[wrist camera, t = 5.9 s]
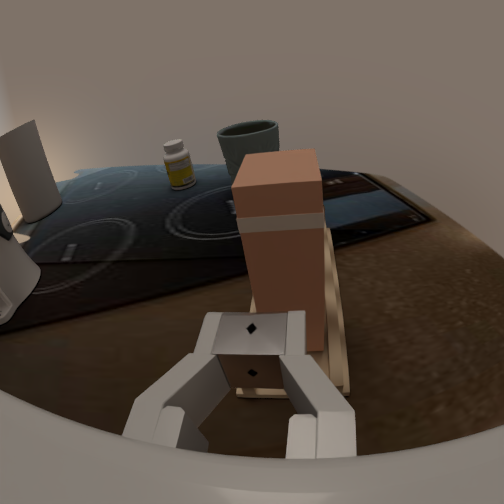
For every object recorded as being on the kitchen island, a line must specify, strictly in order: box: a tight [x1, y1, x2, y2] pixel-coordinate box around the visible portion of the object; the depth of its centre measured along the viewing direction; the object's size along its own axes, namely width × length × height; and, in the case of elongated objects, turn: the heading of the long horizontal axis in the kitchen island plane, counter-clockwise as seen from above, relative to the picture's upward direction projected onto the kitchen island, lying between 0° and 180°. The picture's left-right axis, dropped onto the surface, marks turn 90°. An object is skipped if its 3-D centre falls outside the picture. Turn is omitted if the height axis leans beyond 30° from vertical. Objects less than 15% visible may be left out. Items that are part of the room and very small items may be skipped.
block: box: [231, 149, 325, 351], centre depth 23 cm, size 6×5×15 cm
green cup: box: [217, 120, 279, 185], centre depth 52 cm, size 10×10×12 cm
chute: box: [236, 205, 350, 398], centre depth 32 cm, size 25×9×4 cm, turn 173°
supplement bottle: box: [163, 139, 196, 190], centre depth 61 cm, size 5×5×10 cm
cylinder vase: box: [0, 120, 62, 223], centre depth 64 cm, size 12×12×25 cm
